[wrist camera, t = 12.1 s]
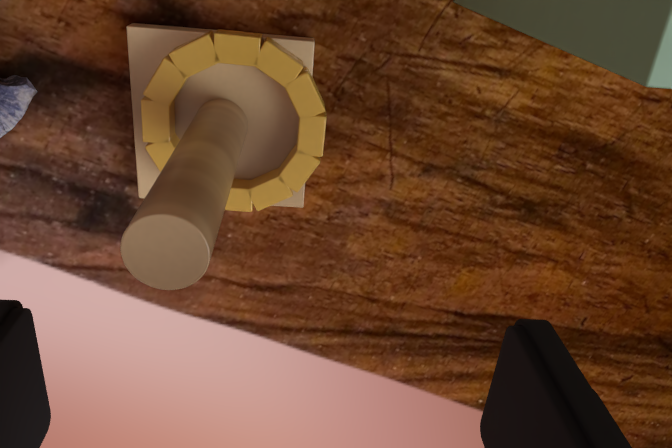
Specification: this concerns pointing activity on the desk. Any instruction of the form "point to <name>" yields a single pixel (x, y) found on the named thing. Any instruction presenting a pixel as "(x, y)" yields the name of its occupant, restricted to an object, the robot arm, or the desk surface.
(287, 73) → the ring
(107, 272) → the desk surface
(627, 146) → the desk surface
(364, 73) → the desk surface
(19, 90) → the seashell
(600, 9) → the stand
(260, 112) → the post
